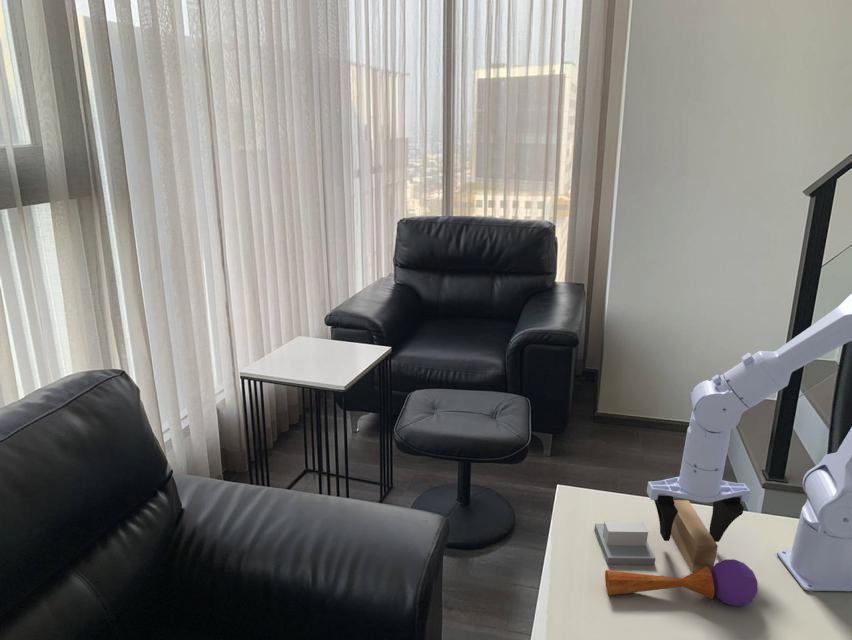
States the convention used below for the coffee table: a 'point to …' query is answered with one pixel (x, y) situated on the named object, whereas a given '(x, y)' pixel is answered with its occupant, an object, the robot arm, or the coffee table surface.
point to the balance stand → (625, 543)
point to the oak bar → (693, 537)
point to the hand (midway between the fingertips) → (689, 537)
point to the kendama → (693, 582)
